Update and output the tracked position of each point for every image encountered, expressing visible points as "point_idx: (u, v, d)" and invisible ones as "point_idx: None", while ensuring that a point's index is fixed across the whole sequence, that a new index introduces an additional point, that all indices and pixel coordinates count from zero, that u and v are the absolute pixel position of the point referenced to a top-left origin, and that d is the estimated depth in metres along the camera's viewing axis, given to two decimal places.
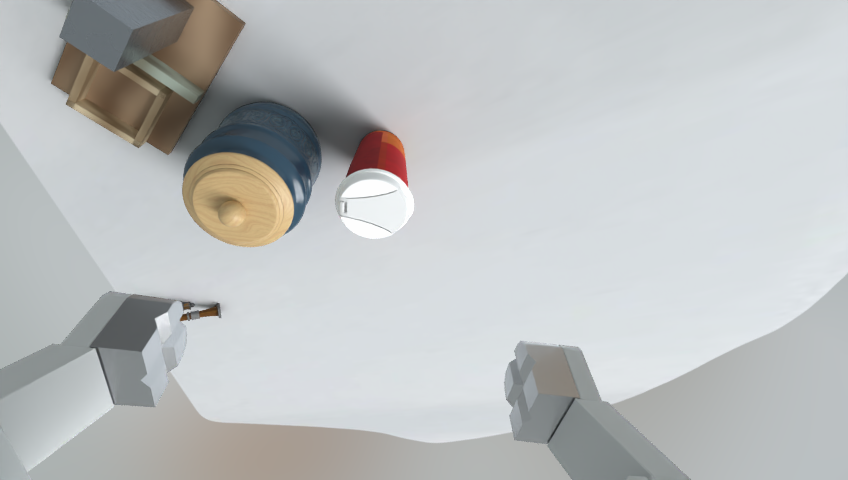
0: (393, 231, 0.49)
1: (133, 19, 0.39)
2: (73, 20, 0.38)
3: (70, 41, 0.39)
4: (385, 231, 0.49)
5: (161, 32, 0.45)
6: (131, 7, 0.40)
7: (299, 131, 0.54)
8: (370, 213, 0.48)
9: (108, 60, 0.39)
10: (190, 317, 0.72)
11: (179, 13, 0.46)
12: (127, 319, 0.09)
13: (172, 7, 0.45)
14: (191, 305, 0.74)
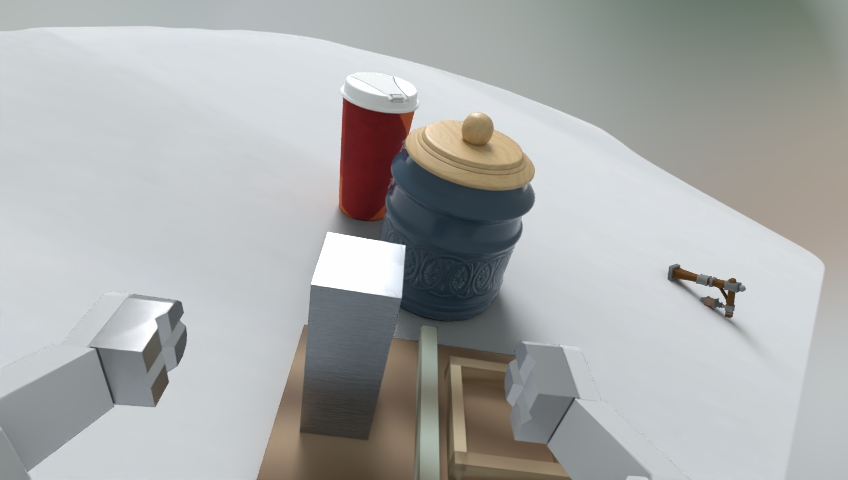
0: (391, 76, 0.49)
1: None
2: (362, 285, 0.23)
3: (398, 286, 0.23)
4: (396, 79, 0.49)
5: None
6: None
7: None
8: (386, 84, 0.46)
9: (392, 250, 0.26)
10: (710, 278, 0.52)
11: None
12: (127, 319, 0.09)
13: None
14: (703, 298, 0.53)
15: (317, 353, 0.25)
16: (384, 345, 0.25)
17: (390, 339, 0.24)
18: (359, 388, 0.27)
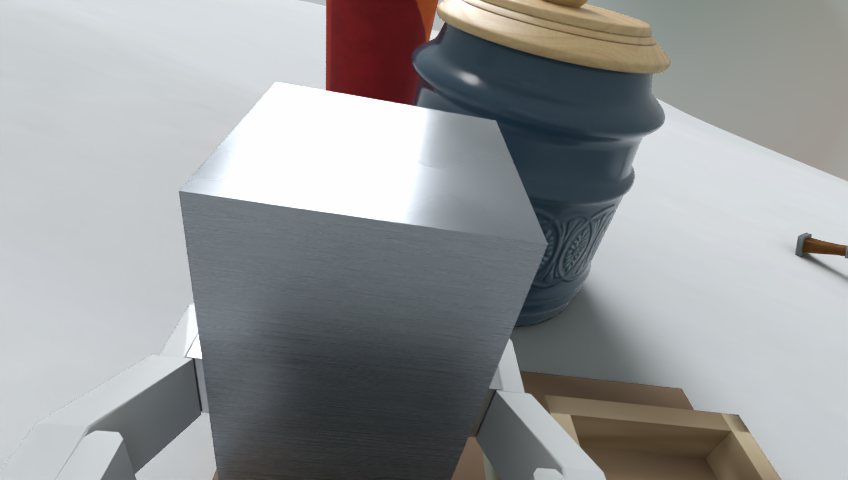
0: None
1: None
2: (389, 199, 0.06)
3: (520, 209, 0.06)
4: None
5: None
6: None
7: None
8: None
9: (466, 126, 0.09)
10: None
11: None
12: None
13: None
14: None
15: (248, 441, 0.08)
16: (458, 412, 0.08)
17: (481, 393, 0.07)
18: None
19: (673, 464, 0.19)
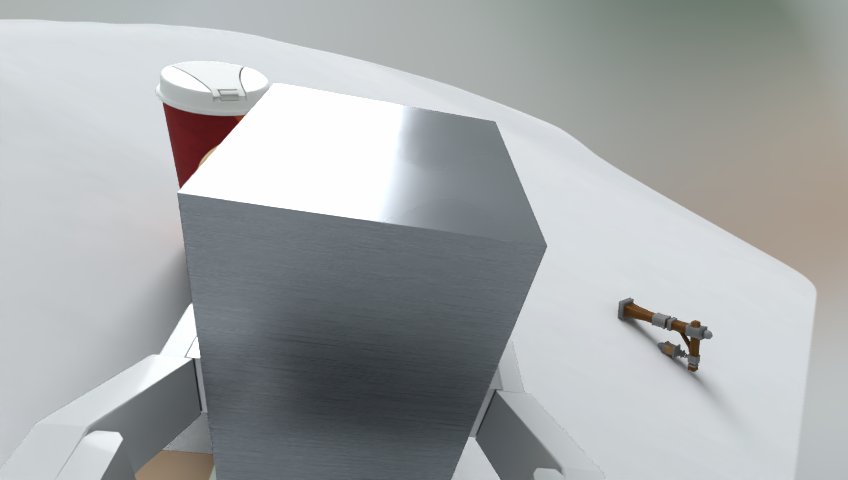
0: (240, 66, 0.37)
1: None
2: (388, 201, 0.06)
3: (519, 211, 0.06)
4: (244, 70, 0.36)
5: None
6: None
7: None
8: (223, 77, 0.34)
9: (465, 127, 0.09)
10: (668, 319, 0.40)
11: None
12: None
13: None
14: (662, 344, 0.41)
15: (246, 443, 0.08)
16: (457, 413, 0.08)
17: (480, 395, 0.07)
18: None
19: None
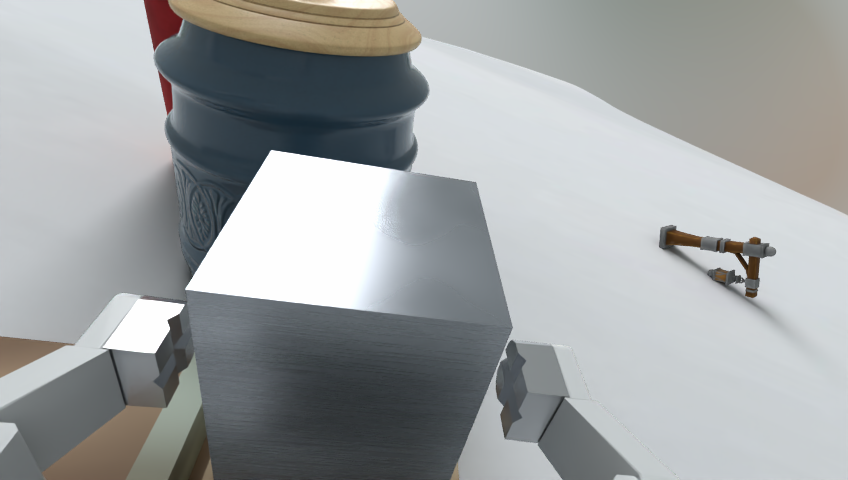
0: None
1: None
2: (372, 286, 0.07)
3: (490, 288, 0.07)
4: None
5: None
6: None
7: None
8: None
9: (447, 192, 0.10)
10: (721, 240, 0.35)
11: None
12: (139, 320, 0.09)
13: None
14: (712, 271, 0.36)
15: None
16: (438, 460, 0.09)
17: (459, 446, 0.08)
18: None
19: None
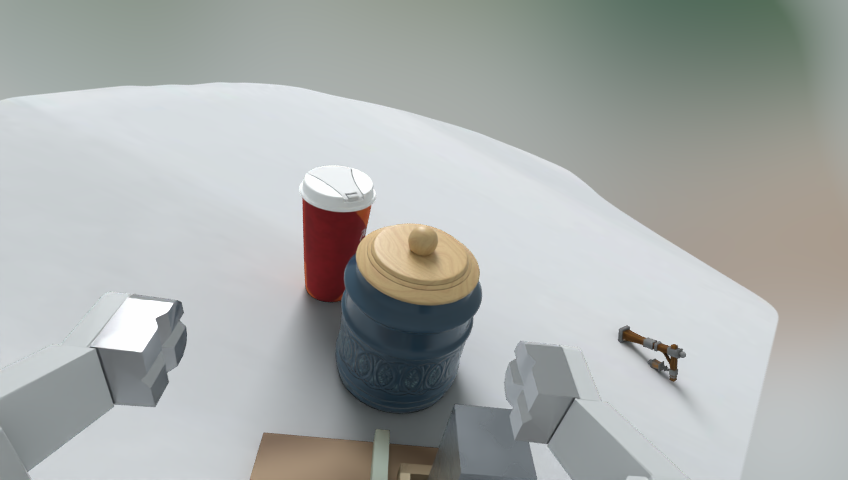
0: (349, 168, 0.51)
1: (450, 431, 0.30)
2: (501, 467, 0.26)
3: (530, 464, 0.27)
4: (353, 171, 0.51)
5: None
6: (444, 462, 0.30)
7: None
8: (343, 181, 0.49)
9: None
10: (655, 342, 0.55)
11: None
12: (127, 319, 0.09)
13: None
14: (650, 361, 0.56)
15: None
16: None
17: None
18: None
19: None
